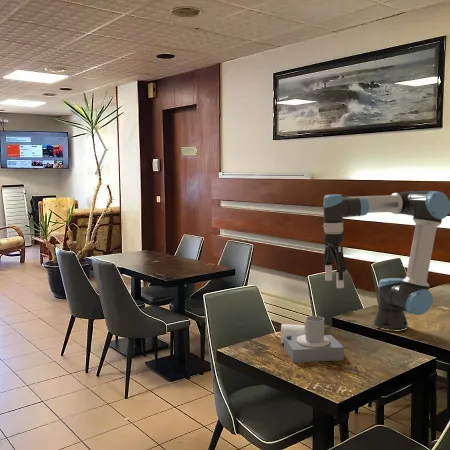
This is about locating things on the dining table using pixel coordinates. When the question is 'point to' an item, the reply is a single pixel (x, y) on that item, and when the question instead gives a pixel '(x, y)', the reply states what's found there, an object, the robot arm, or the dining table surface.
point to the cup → (314, 329)
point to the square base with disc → (313, 349)
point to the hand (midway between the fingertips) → (334, 284)
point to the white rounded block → (291, 331)
